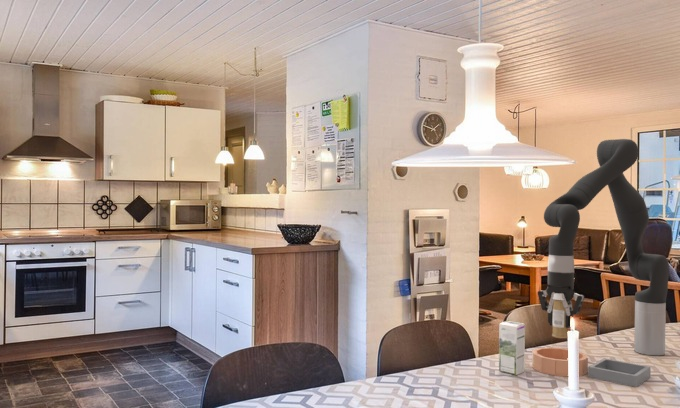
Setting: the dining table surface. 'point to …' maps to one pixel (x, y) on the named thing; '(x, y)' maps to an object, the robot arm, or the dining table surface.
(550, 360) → the bowl
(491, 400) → the dining table surface
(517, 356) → the syrup box
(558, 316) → the sprinkles bottle
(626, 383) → the gray square frame
